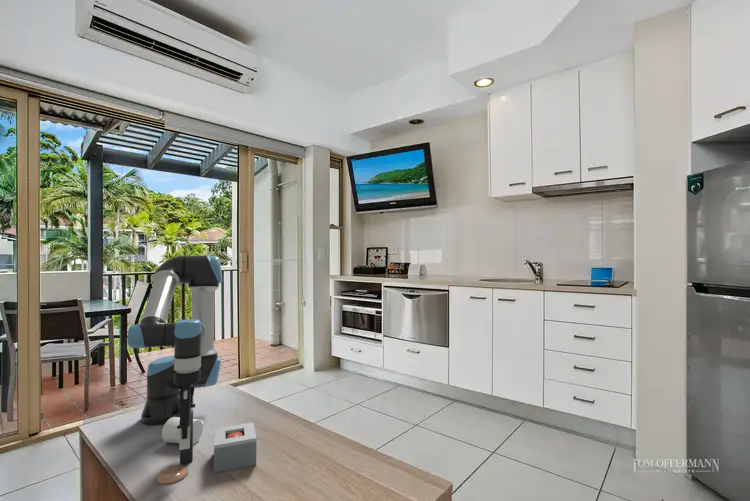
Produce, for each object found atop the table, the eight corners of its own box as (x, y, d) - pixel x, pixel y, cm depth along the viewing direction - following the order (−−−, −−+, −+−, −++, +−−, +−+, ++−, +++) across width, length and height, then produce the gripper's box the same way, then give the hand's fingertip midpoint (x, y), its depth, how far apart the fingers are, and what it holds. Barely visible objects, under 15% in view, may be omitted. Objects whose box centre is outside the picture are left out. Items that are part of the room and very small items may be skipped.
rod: (180, 460, 116) (180, 411, 117) (192, 457, 118) (193, 410, 118) (179, 465, 113) (179, 416, 113) (192, 463, 114) (192, 414, 115)
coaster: (158, 471, 110) (159, 469, 110) (189, 465, 113) (189, 463, 113) (154, 487, 102) (154, 484, 102) (186, 480, 106) (187, 478, 106)
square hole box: (214, 453, 120) (214, 428, 120) (252, 446, 125) (253, 422, 125) (213, 473, 109) (214, 445, 109) (256, 464, 114) (256, 438, 114)
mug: (187, 449, 123) (187, 425, 123) (161, 446, 125) (161, 422, 125) (210, 433, 134) (210, 410, 135) (186, 430, 136) (186, 408, 137)
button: (226, 443, 118) (226, 433, 118) (242, 440, 120) (242, 430, 120) (227, 449, 114) (227, 440, 114) (242, 446, 116) (243, 437, 116)
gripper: (178, 361, 126) (177, 424, 125) (168, 383, 103) (167, 460, 102) (202, 359, 129) (201, 420, 128) (198, 380, 106) (197, 455, 105)
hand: (186, 438), depth 115 cm, fingers open, 13 cm apart
